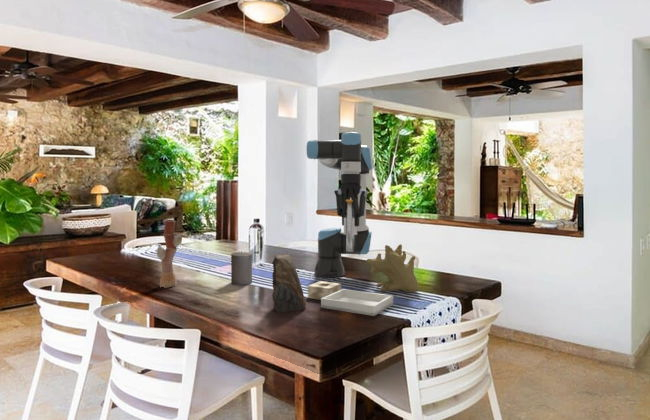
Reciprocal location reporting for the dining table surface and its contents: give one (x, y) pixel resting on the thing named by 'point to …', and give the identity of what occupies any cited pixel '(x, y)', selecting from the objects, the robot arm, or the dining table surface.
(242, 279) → the pillar candle
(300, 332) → the dining table surface
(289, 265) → the brown rock
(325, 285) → the pin block
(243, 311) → the dining table surface
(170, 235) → the abstract sculpture
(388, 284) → the decorative coral
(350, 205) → the steel pin
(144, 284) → the dining table surface
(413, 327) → the dining table surface
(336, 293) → the tray
